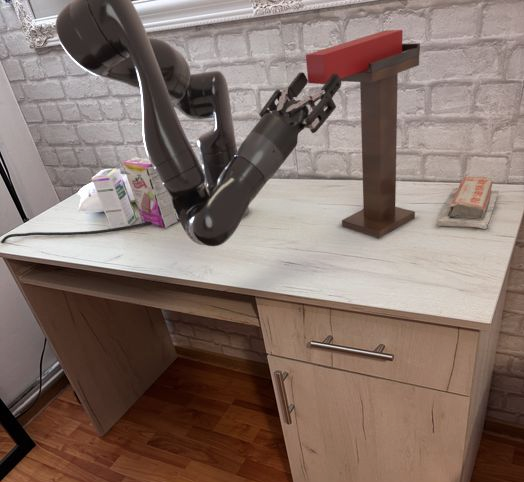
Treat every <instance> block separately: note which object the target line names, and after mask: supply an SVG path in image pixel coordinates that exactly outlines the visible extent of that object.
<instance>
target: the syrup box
mask: <svg viewBox="0 0 524 482" xmlns="http://www.w3.org/2000/svg"><path fill="white" fill-rule="evenodd" d="M122 175H123V174H122V172H121V169H120V168H119V167H118V168H117V167H112V168H104V169H101V170H99V172H97V173H96V174H95V175H94V176H92V177H91V178H90V179H91V181H92V182H93V184H94V187H95V189H96V192H97V194H98V197H99V199H100V202H101V204H102V207H103V209H104V214H105V216H106V219H107V221H108V224H109V227H110V229H113V228H119V227H125V226H130V225H133V223H134V222H135V221H136V220H137V219H138V218H137V214H136V212H135V211H136V210H135V209H134V206H133V203H131V200H130V197H129V195H128V192H127V189H126V186H125V183H124V181H123V178H122ZM92 182H91V183H92Z"/></svg>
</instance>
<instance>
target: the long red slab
mask: <svg viewBox="0 0 524 482" xmlns="http://www.w3.org/2000/svg"><path fill="white" fill-rule="evenodd" d="M402 44H403V29H393V30H382V31H379V32H375V33H372V34H369V35H366V36H363V37H358V38H356V39H353V40H350V41H346V42H343V43H339V44H337V45H332V46H330V47H327V48H322V49H320V50H316V51H314V52H310V53H307V54H305V60H306V61H305V62H306V73H307V80H308V83H307V84H313V85H314V84H316V85H325V84H326V82H327V81H328V80H329V78H330V77H331V76H332V74H338V76H339V78H340V79H341V78H344V77H347V76H350V75H353V74H356V73H359V72H361V71H364V70H367V69H369V63H371V62H374V61H377V60H380V59H383V58H386V57H389V56H392V55H395V54H398V53H401V52H402Z"/></svg>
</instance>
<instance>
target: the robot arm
mask: <svg viewBox="0 0 524 482" xmlns="http://www.w3.org/2000/svg"><path fill="white" fill-rule="evenodd" d="M133 3H134V2H132V0H71V1H70V2H68V4H65V6H64V7H63V8H62V10H61V11H60V12H59V13H58V15H57V17H56V19H55V31H56V36H57V38H58V41H59V43H60V45H61V46H62V48H63V49H64V51H65V52H66V53H67V55H68V56H69V57H70V58H71V60H73V61H74V62H75V63H76V64H77V65H78V66H80V67H81V68H82V69H83V70H85V71H86V72H89V73H90V74H92V75H94V76H98V77H99V78H105V79H108V80H112V81H115V82H119V83H122V84H125V85H128V86H131V87H132V88H135V89H138V90H140V95H141V96H140V97H141V112H142V113H141V114H142V115H141V117H142V118H141V120H142V139H143V145H144V149H145V152H146V155H147V158H148V159H149V160H150V162H151V164H152V165H153V167H154V169H155V171H156V173H157V175H158V176H159V178H160V180H161V182H162V183H163V185H164V187H165V189H166V190H167V192H168V193H169V195H170V198H171V200H172V203H173V206H174V208H175V212H176V215H177V219H178V222H177V223H180V225H181V228H182V229H183V231H184V233H185V234H186V236H188V238H189V239H190V240H191V241H192V242H193V243H195V244H197V245H200V246H207V247H219V246H221V245H223V244H225V243H226V242H227V241H228V240H229V239H230V238H231V237H232V236H233V235H234V233H235V232H236V231H237V229H238V227H239V225H240V224H241V222H242V220H243V218H245V217H246V216H247V215H248V214H249V212H250V211H249V206H250V204H251V203H252V202H253V201H254V200H255V198H256V197H257V196H258V194H259V193H261V191H262V189H263V188H264V187H265V186H266V184H267V183H268V182H269V181H270V180H271V179H272V178H273V177H274V176H275V174H277V172H278V170H279V169H280V168H281V167H282V165H283V164H284V163H285V161H286V160H287V159H288V157H289V156H290V155H291V153H292V152H293V151H294V149H295V148H296V147H297V145H298V137H299V134H300V133H301V132H303V130H304V129H305V128H306V129H308V130H310V132H311V134H315V133H317V132H318V131H319V129H321V126H322V125H323V124H324V123H325V122H326V121H327V119H329V117H330V116H331V114H332V113H333V112H334V111H335V110H336V109H337V105H336V104H335V101H334V99H333V97H334V96H335V95H336V94H337V92H338V91H339V89H340V88H341V86H342V81H341V80H340V78H339V76H338V74H332V76H331V77H330V78H329V80H328V81H327V82H326V84H323V86H322V87H321V88H320V91H318V92H317V93H315V94H314V95H307V96H306V97H304V98H303V99H299V100H296V99H295V98H298V96H299V95H300V94H301V93H302V91H303V89H304V88H305V87H306V86H307V84H309V83H308V77H307V76H306V74H305V73H304V72H302V71H301V72H298V74H297V75H296V76H295V77H294V79H293V80H292V82H291V83H290V84H289V85H288V86H287V87H284V88H282V90H280V89H276V90H275V91H274V92H273V93H272V95H271V96H270V97H269V99H268V100H267V102H266V103H265V105H264V106H263V108H261V110H260V112H259V116H260V119H259V120H258V122H257V123H256V124H255V126H254V127H253V128H252V129H251V131H250V132H249V133H248V134H247V136H246V138H245V139H244V140H243V141H242V142H241V144H240V146H239V147H238V146H237V142H236V141H237V140H236V135H235V127H234V120H233V116H232V115H233V114H232V108H231V106H232V105H231V98H230V91H229V86H228V82H227V80H226V77H225V75H224V74H223V73H222V72H221V71H220V70H211V71H205V72H197V73H192V74H191V69H190V65H189V63H188V61H187V59H186V58H185V57H184V56H183V54H182V53H181V52H180V51H179V50H177V49H176V48H175V47H173V46H172V45H171V44H169V43H168V42H166V41H164V40H163V39H160V38H156V37H149V36H148V34H147V30H146V28H145V25H144V24H143V21H142V19H141V17H140V15H139V13H138V10H137V9H136V6H135V5H134V4H133ZM276 101H278V102H277V104H276ZM316 102H318V103H317V104H316ZM308 106H309V107H310V108H311V112H310V109H309V107H308ZM176 110H178V111H179V112H180V113H182V114H183V115H184V116H185V117H187V118H188V119H190V120H191V119H192V120H206V119H214V121H215V125H214V126H213V127H212V128H211V129H209V130H208V131H206V132H204V133H203V134H201V135H200V136H199V137H198V138H197V139H196V145H197V150H198V153H199V158H200V160H199V158H198V156H197V154H196V153H195V151H194V149H193V147H192V145H191V143H190V140H189V139H188V137H187V135H186V133H185V131H184V128H183V126H182V123H181V122H180V119H179V116H178V114H177V111H176ZM237 147H238V148H237ZM199 161H200V162H201V163H202V166H201V164H199V163H200V162H199ZM202 167H203V169H202ZM148 225H149V226H150V225H153V224H152V222H150V221H149V222H144V221H143V222H141V223H136V224H131V225H130V226H125V227H119V228H107V229H98V230H87V231H86V230H85V231H53V232H52V231H51V232H49V231H47V232H45V231H44V232H43V231H32V232H23V233H22V232H21V233H10V234H7V235H6V236H4V237H3V238H2V239H1V241H0V242H1V244H4V243H5V242H6V241H7V240H9V238H14V237H15V238H16V237H30V236H82V235H95V234H106V233H111V232H119V231H124V230H129V229H134V228H135V229H136V228H140V227H144V226H148Z"/></svg>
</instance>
